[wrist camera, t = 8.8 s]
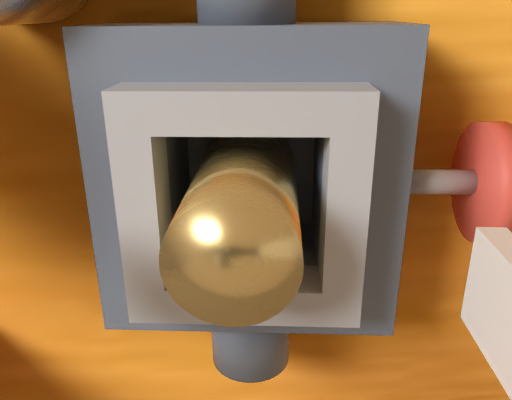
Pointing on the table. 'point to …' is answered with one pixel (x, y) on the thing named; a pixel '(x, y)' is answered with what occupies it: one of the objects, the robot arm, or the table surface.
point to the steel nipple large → (37, 11)
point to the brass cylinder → (236, 234)
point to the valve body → (268, 125)
